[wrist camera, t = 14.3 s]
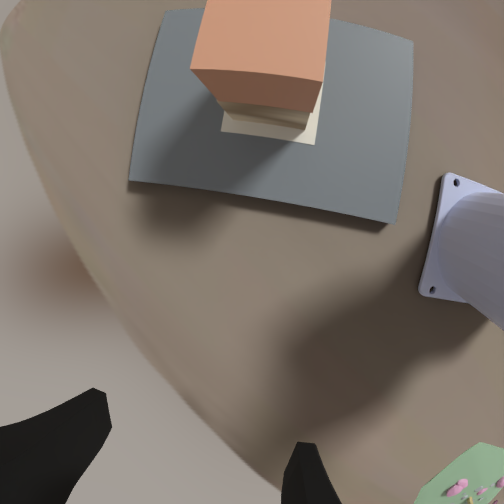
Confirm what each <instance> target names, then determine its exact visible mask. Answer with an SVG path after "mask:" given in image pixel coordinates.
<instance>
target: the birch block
mask: <svg viewBox="0 0 504 504" xmlns="http://www.w3.org/2000/svg"><path fill="white" fill-rule="evenodd" d="M217 102H218V104H219V105H220V106H221V107H222V108H223V109H224V110H225V111H226V113H227V114H228V115H229V116H230V117H231V118H232V119H233V120H238V121H247V122H255V123H263V124H270V125H277V126H284V127H290V128H296V129H302V130H305V129H306V126H307V122H308V119H309V116H310V113H309V112H304V111H298V110H291V109H285V108H278V107H271V106H263V105H254V104H245V103H235V102H222V101H218V100H217Z"/></svg>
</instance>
